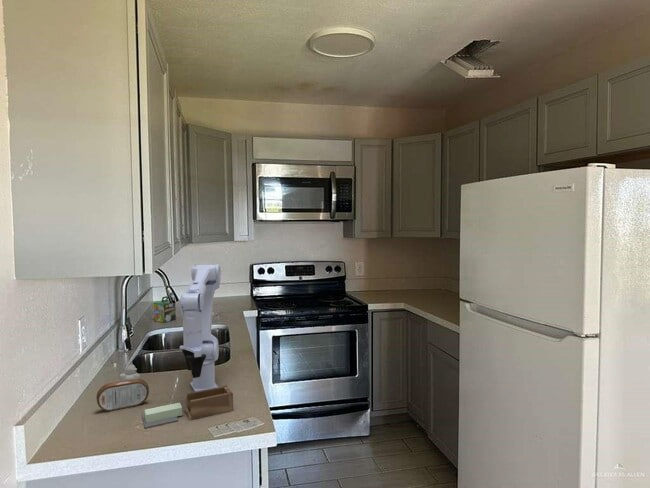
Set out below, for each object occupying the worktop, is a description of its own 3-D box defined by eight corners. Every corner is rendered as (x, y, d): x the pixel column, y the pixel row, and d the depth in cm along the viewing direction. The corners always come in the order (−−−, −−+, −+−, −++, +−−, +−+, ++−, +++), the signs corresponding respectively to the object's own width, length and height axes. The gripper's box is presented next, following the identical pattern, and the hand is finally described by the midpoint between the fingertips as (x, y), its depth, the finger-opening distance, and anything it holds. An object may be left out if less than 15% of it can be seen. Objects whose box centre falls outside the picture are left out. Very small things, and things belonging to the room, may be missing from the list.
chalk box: (165, 318, 258) (164, 294, 258) (176, 319, 254) (175, 295, 253) (153, 321, 250) (152, 296, 249) (164, 323, 246) (163, 298, 245)
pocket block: (184, 410, 130) (184, 393, 130) (226, 401, 136) (226, 385, 136) (189, 420, 124) (188, 402, 124) (233, 410, 130) (232, 393, 130)
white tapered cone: (138, 385, 152) (137, 363, 151) (118, 387, 150) (117, 365, 149) (141, 379, 157) (140, 358, 156) (121, 381, 155) (120, 360, 155)
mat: (142, 415, 127) (142, 414, 127) (173, 409, 131) (173, 408, 131) (144, 428, 119) (144, 427, 119) (178, 421, 124) (178, 419, 123)
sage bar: (144, 417, 125) (144, 409, 125) (180, 410, 130) (179, 402, 130) (146, 423, 122) (145, 415, 122) (182, 415, 126) (182, 407, 126)
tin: (149, 400, 138) (148, 375, 138) (150, 404, 136) (149, 378, 135) (97, 410, 131) (95, 384, 131) (96, 414, 128) (95, 387, 128)
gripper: (175, 327, 137) (177, 368, 138) (183, 338, 124) (185, 383, 125) (197, 325, 141) (199, 365, 141) (207, 334, 128) (209, 378, 128)
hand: (194, 373), depth 133 cm, fingers open, 7 cm apart
